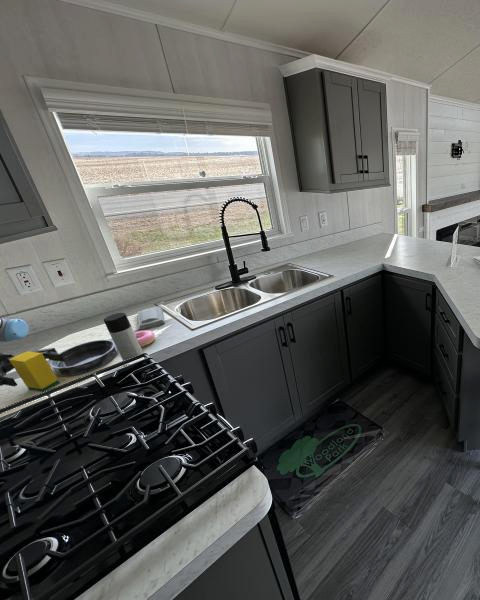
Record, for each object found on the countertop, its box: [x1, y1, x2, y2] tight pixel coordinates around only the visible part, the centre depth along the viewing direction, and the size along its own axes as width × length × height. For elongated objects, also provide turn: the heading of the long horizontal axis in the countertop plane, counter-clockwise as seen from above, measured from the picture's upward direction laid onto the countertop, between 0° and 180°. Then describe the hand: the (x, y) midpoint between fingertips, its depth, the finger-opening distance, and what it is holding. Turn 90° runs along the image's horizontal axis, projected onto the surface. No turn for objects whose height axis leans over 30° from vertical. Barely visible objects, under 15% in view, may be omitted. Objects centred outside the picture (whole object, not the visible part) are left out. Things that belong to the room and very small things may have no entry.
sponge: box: [9, 350, 61, 393], centre depth 113 cm, size 7×5×13 cm
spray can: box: [103, 312, 144, 362], centre depth 124 cm, size 7×7×20 cm
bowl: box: [49, 339, 119, 377], centre depth 128 cm, size 19×19×4 cm
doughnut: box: [134, 329, 156, 348], centre depth 139 cm, size 11×11×4 cm
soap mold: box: [137, 305, 166, 331], centre depth 160 cm, size 10×20×4 cm, turn 37°
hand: (39, 369), depth 111 cm, fingers open, 13 cm apart
